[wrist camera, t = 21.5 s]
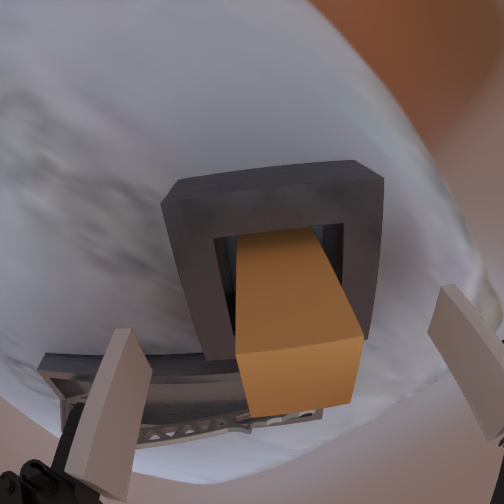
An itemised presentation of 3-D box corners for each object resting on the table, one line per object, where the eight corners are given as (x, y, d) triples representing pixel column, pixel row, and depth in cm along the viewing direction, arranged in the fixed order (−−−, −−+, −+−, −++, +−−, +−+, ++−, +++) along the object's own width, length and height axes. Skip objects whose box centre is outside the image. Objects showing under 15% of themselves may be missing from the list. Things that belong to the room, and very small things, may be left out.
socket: (210, 318, 21) (206, 361, 17) (177, 180, 16) (160, 203, 13) (349, 300, 21) (367, 339, 17) (354, 159, 16) (384, 177, 12)
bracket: (60, 393, 22) (66, 483, 13) (260, 327, 29) (318, 399, 21) (75, 411, 23) (87, 496, 15) (262, 349, 30) (316, 417, 22)
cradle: (85, 405, 27) (80, 421, 25) (45, 353, 23) (36, 369, 21) (317, 400, 26) (321, 418, 24) (321, 339, 22) (328, 360, 20)
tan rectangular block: (246, 280, 19) (251, 417, 11) (237, 223, 17) (235, 354, 9) (307, 272, 19) (350, 403, 10) (305, 215, 17) (364, 335, 9)
